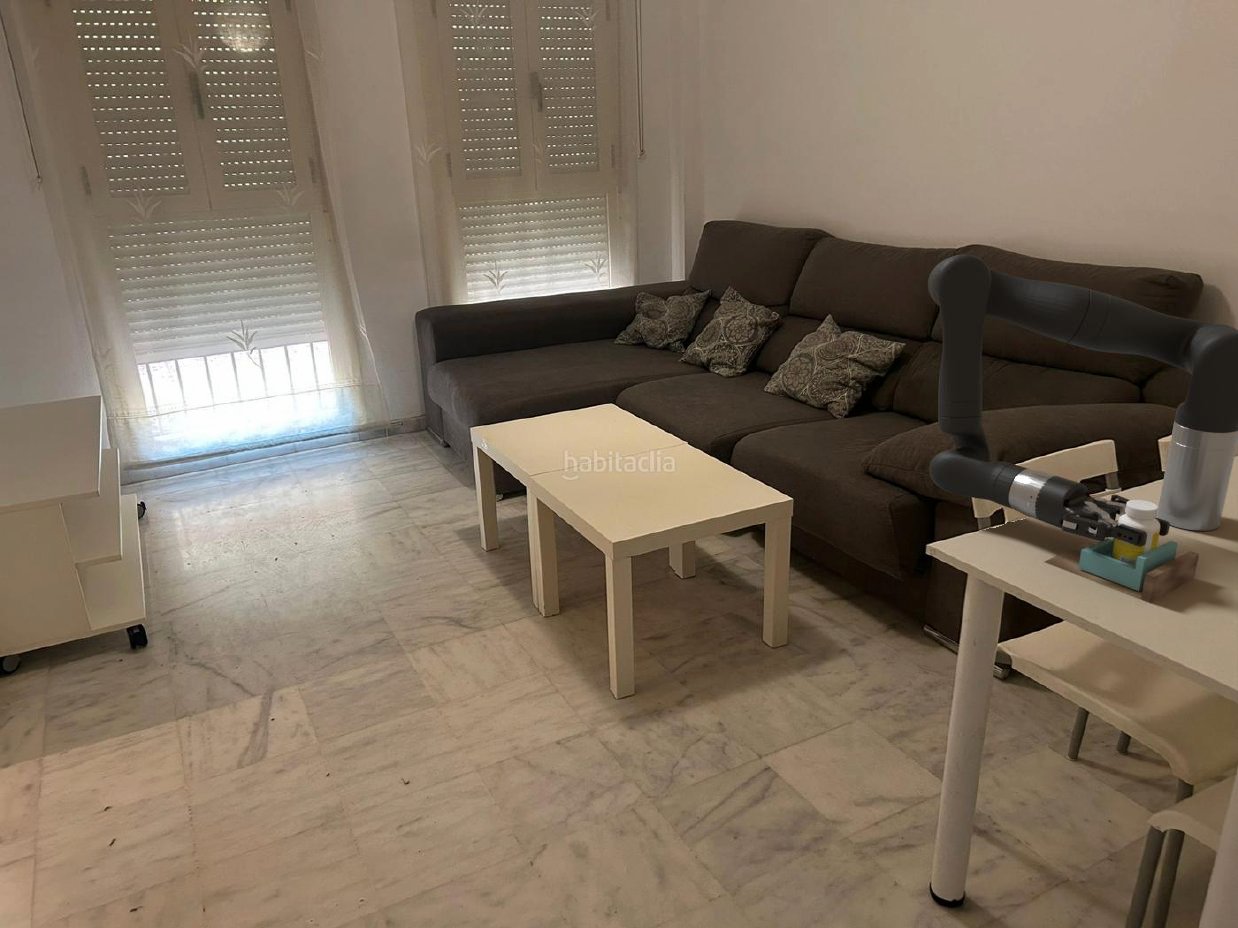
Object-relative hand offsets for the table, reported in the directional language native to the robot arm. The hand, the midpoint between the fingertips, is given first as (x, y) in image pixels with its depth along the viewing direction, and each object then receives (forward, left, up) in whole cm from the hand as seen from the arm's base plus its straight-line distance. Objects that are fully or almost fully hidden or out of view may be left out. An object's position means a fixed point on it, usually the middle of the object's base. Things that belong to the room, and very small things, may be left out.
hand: (1156, 534), depth 128 cm
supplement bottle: (0, -3, -6) cm, 7 cm away
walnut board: (0, -4, -9) cm, 10 cm away
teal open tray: (0, -3, -7) cm, 8 cm away
